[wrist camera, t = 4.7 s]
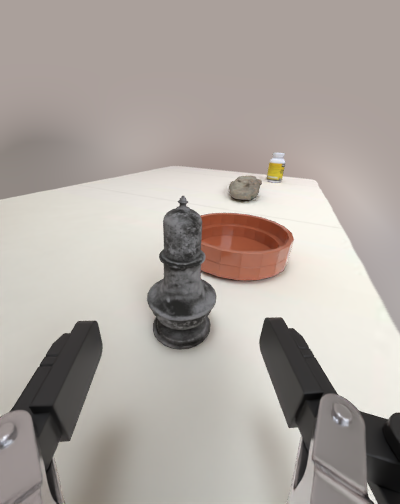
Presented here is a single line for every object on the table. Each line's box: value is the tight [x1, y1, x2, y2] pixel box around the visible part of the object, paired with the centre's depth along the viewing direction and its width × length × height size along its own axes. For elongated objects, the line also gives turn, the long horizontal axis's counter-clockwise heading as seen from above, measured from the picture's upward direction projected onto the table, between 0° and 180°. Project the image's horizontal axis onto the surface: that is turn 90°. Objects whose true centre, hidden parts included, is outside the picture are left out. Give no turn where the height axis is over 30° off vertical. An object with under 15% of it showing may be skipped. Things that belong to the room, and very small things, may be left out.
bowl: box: [200, 213, 294, 280], centre depth 32 cm, size 15×15×4 cm
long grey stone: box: [229, 176, 262, 200], centre depth 75 cm, size 35×5×10 cm
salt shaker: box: [147, 196, 216, 349], centre depth 18 cm, size 6×6×12 cm
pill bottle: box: [267, 153, 285, 183], centre depth 95 cm, size 6×6×12 cm
